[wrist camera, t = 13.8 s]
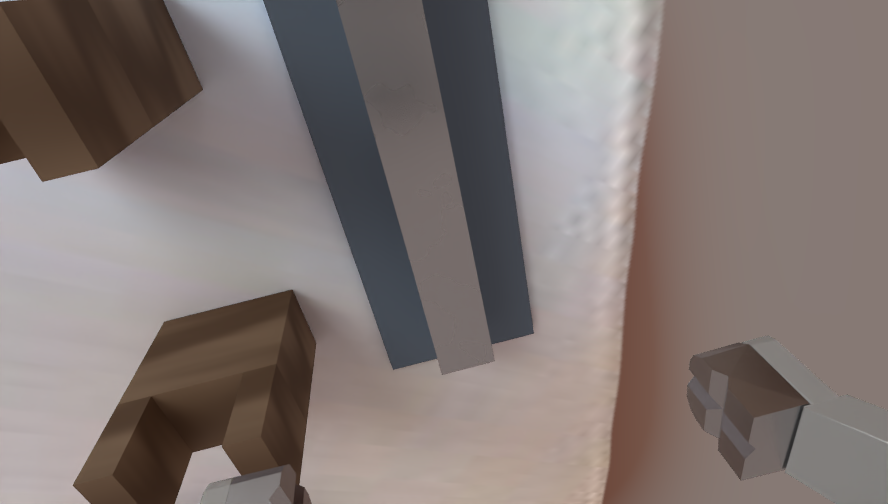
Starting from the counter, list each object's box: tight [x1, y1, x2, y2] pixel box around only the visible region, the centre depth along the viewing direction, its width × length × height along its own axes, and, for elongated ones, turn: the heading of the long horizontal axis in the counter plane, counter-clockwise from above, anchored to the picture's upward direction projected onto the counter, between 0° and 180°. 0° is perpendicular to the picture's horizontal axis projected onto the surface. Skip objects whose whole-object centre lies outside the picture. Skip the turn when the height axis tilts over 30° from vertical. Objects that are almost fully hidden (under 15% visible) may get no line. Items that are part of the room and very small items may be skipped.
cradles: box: [0, 0, 316, 504], centre depth 20 cm, size 19×7×10 cm, turn 12°
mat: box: [263, 0, 534, 370], centre depth 24 cm, size 25×9×1 cm, turn 12°
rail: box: [336, 0, 495, 375], centre depth 23 cm, size 22×3×3 cm, turn 12°
